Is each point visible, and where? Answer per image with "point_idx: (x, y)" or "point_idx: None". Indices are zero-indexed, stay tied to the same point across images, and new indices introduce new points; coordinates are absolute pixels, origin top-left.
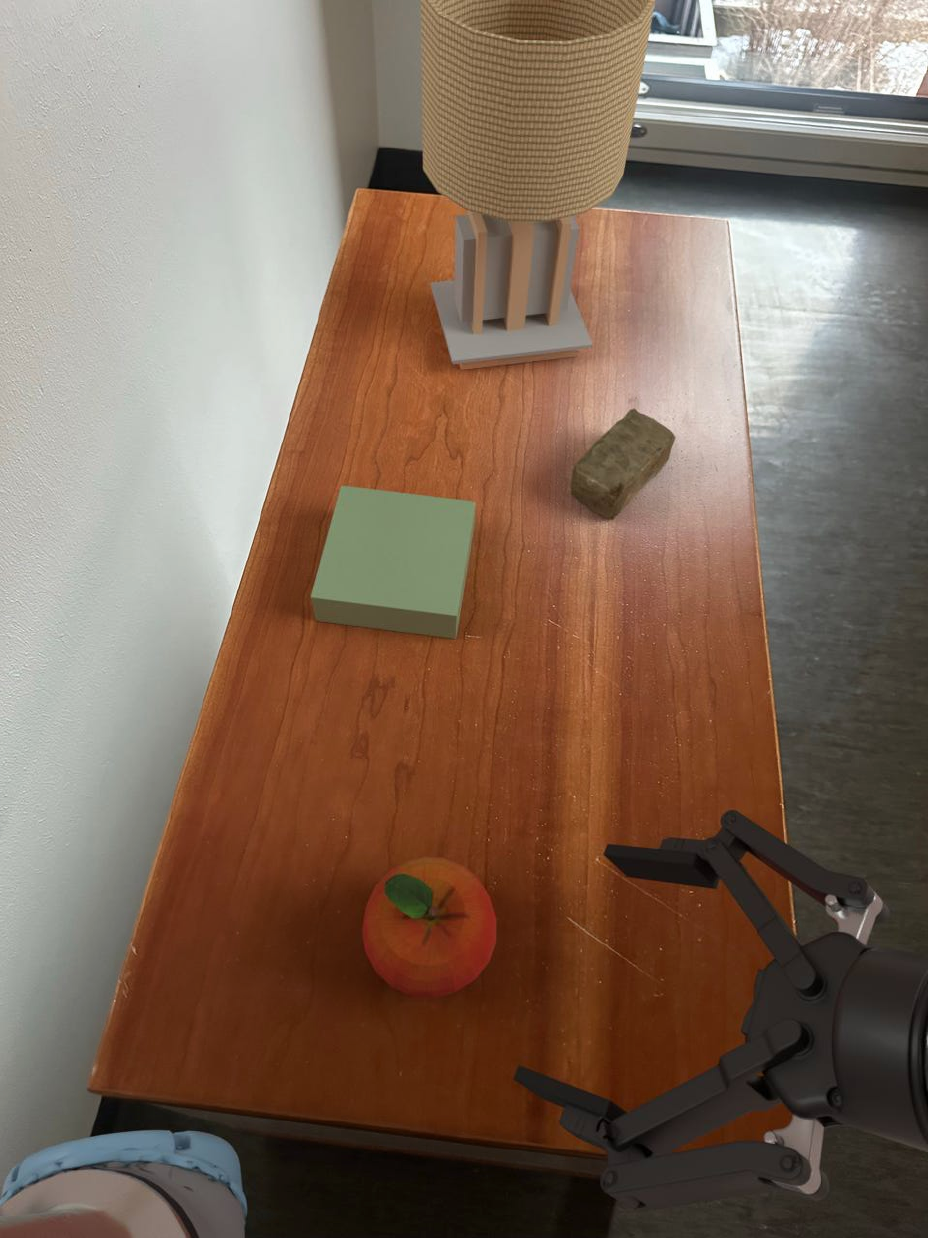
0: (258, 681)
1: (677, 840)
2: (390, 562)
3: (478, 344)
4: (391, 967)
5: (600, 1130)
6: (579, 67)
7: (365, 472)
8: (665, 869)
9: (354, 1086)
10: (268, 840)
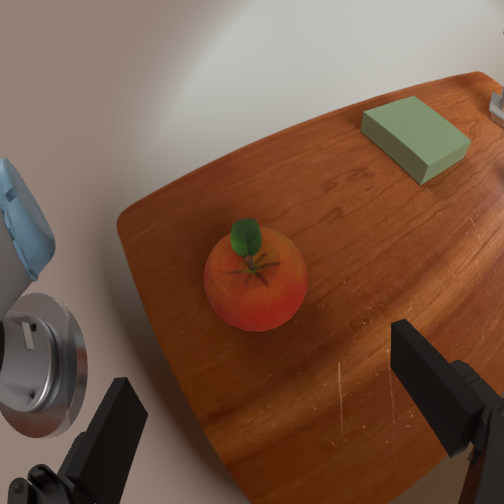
0: (312, 132)
1: (472, 372)
2: (413, 126)
3: (502, 114)
4: (205, 270)
5: (37, 470)
6: None
7: None
8: (431, 391)
9: (161, 312)
10: (246, 187)
